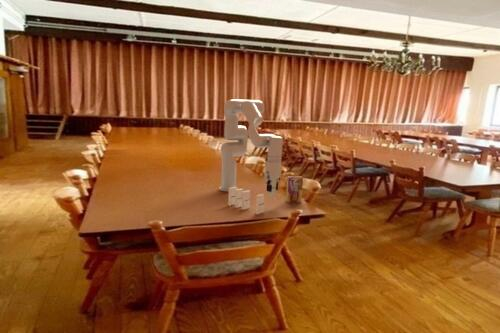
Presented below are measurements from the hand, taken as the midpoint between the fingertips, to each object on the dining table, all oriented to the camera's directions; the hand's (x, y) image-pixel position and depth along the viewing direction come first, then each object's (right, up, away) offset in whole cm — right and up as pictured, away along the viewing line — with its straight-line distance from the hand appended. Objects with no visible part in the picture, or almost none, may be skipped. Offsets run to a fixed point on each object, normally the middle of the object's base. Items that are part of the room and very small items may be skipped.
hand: (272, 190), depth 193 cm
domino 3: (-15, -10, -2) cm, 18 cm away
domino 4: (-7, -12, -8) cm, 16 cm away
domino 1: (-22, -9, +4) cm, 24 cm away
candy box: (+14, -8, +16) cm, 23 cm away
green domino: (0, -3, +1) cm, 4 cm away
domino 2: (-19, -9, +1) cm, 21 cm away
